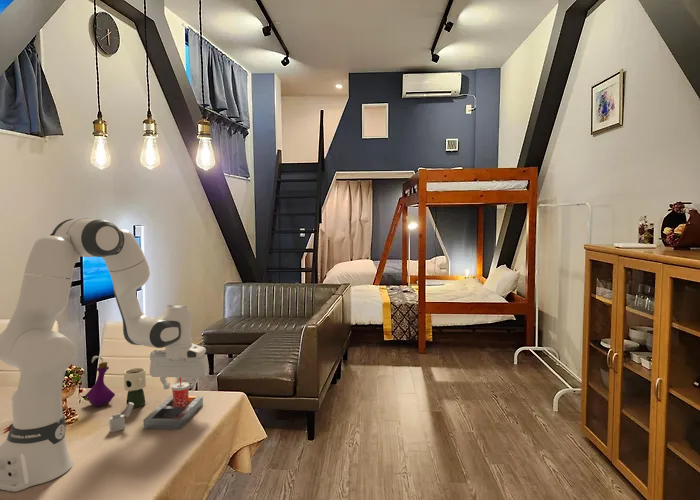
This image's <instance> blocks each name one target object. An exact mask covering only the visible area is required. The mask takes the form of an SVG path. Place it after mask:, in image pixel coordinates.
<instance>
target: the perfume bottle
mask: <svg viewBox="0 0 700 500" xmlns="http://www.w3.org/2000/svg"><path fill="white" fill-rule="evenodd" d="M96 359H100V360H101V362H100V363H99V364H98V367H97V368H96V371H97V372H98V375H97V376H98V377H97V379H96V381H95V382H94V385H93V386H92V387H91V388H90V390H89V391H88V392H87V393H86V394H85V395H84V397H85V396H86V397H88V399H89V401H88V402H89V403H90V404H91V405H92V406H94V407H96V408H100V407H102V406H105V405H106V406H107V405H108V404H110V403H111V401H112V400H113V398H114V397H115V395H116V394H115V392H113V391H112V390H111V389H110V388H109V387H108V386H107V385H106V384H105V382H104V378H105V375H106V372H107V371H108V370H109V369H110V368H109V366H108V362H107V361H104V360H103V358H102V357H101V356H99V355H94V356H93V357H92V359H91V363H92V364H93V363H94V361H95V360H96Z"/></svg>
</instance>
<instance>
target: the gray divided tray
mask: <svg viewBox="0 0 700 500" xmlns="http://www.w3.org/2000/svg"><path fill="white" fill-rule="evenodd" d="M203 405H204V397H203V396H199V395H198V396H197V395H196V396H193V395H188V406H174V402H173V395H169V397H168V398H167V399H165V400H164V401H163V402H162V403H161V404H159V406H158V407H156V408H155V409H154V410H152V411H151V412H150V413H149V414H148V415H147V416H146V417H145V418H144V419H143V420H142V423H143V425H142V426H143V429H144V430H181V429H182V428H183V427H184V426H185V425H186V424H187V423H188V422H189V421H190V419H191V418H192V417H193V416H194V415H195V414H196V413H197V412H198V410H200V409H201V407H203Z"/></svg>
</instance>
